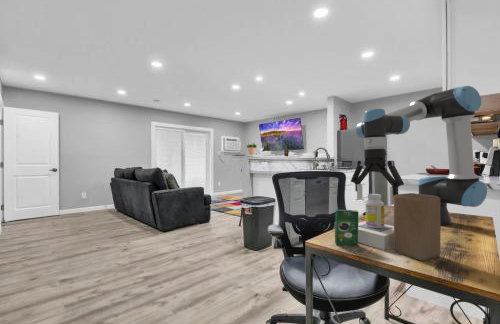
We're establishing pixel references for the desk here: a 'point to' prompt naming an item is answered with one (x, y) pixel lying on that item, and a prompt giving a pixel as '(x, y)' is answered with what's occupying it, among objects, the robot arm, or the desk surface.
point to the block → (417, 225)
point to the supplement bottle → (374, 211)
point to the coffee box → (346, 227)
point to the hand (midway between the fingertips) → (375, 201)
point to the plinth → (376, 236)
